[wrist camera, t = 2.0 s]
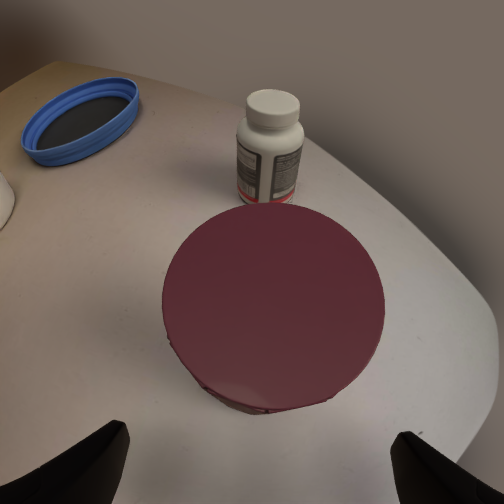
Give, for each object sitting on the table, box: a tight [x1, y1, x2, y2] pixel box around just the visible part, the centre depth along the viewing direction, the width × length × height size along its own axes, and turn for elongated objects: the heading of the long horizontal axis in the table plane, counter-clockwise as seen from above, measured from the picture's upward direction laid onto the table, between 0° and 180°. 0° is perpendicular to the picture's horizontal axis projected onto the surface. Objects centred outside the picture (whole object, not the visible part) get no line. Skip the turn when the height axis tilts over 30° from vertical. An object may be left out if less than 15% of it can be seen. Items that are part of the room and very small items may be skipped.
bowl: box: [21, 77, 139, 166], centre depth 33 cm, size 18×18×4 cm
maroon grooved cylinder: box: [162, 202, 385, 415], centre depth 14 cm, size 7×7×13 cm
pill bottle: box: [236, 89, 304, 204], centre depth 24 cm, size 5×5×10 cm
